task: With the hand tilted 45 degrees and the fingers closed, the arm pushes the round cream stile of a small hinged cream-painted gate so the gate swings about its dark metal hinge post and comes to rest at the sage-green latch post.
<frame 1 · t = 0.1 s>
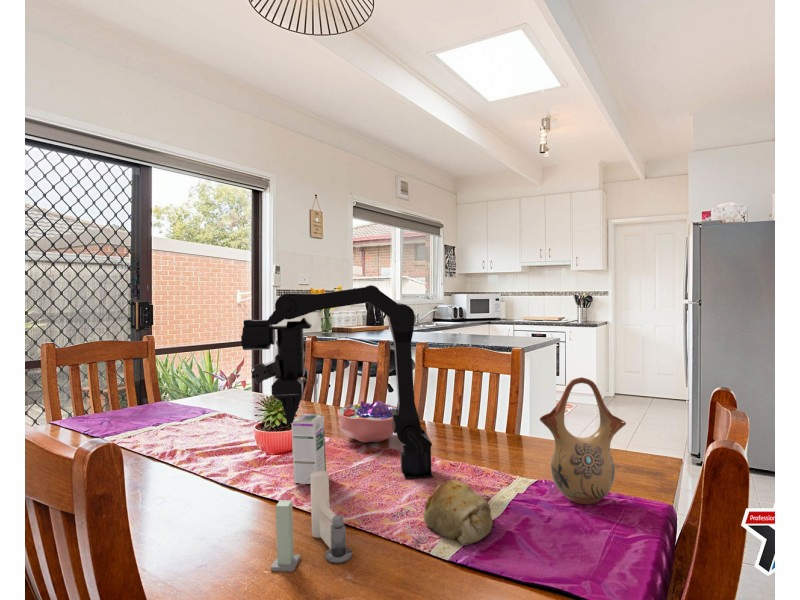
hand: (292, 417, 110), 15 cm above the table, tool pointing down, fingers open, 9 cm apart
cell model: (369, 440, 138), on the table
ceramic vessel: (582, 501, 98), on the table
gate: (327, 511, 83), point 6 cm above the table, hinge at -52.0°
syrup box: (310, 480, 111), on the table
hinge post: (338, 556, 80), on the table
latch post: (285, 564, 78), on the table
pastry: (458, 527, 89), on the table
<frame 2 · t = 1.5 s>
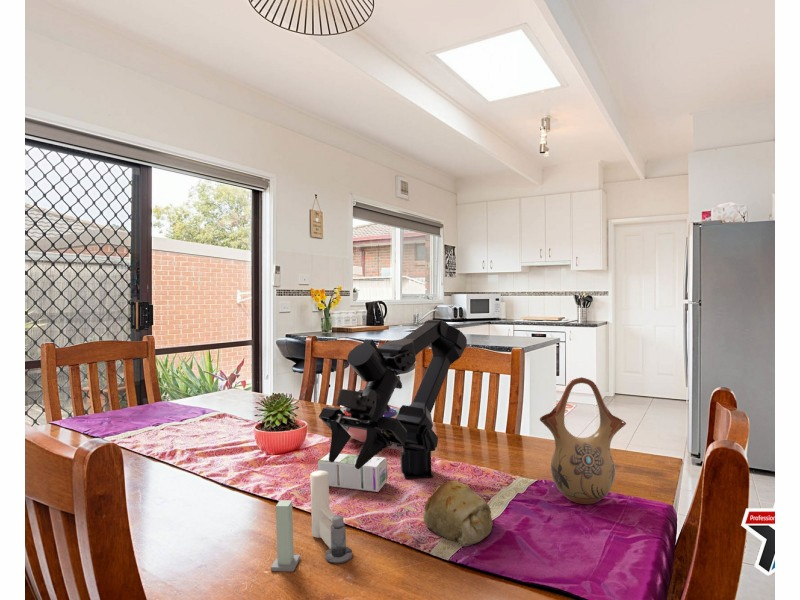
hand: (343, 464, 92), 11 cm above the table, tool tilted 45°, fingers open, 6 cm apart
syrup box: (322, 467, 110), point 3 cm above the table
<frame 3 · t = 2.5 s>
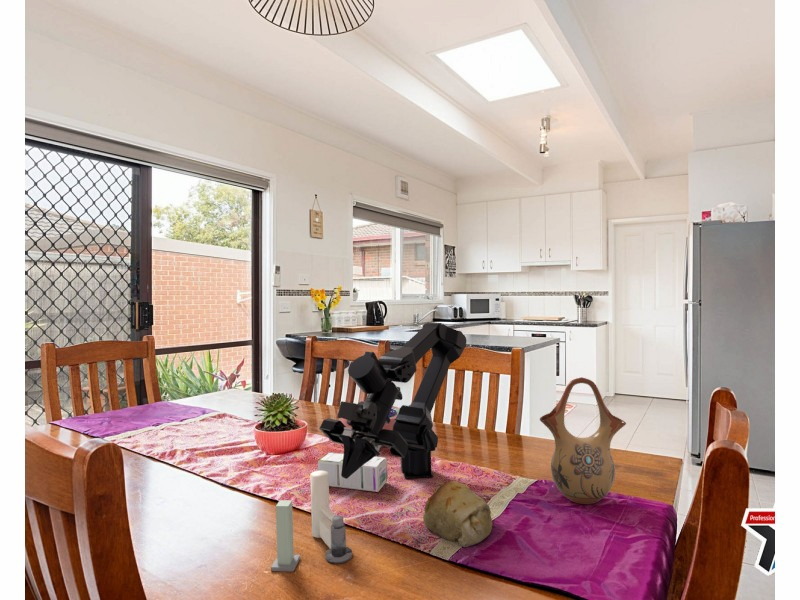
hand: (343, 477, 92), 8 cm above the table, tool tilted 45°, fingers closed
nothing on the table moved.
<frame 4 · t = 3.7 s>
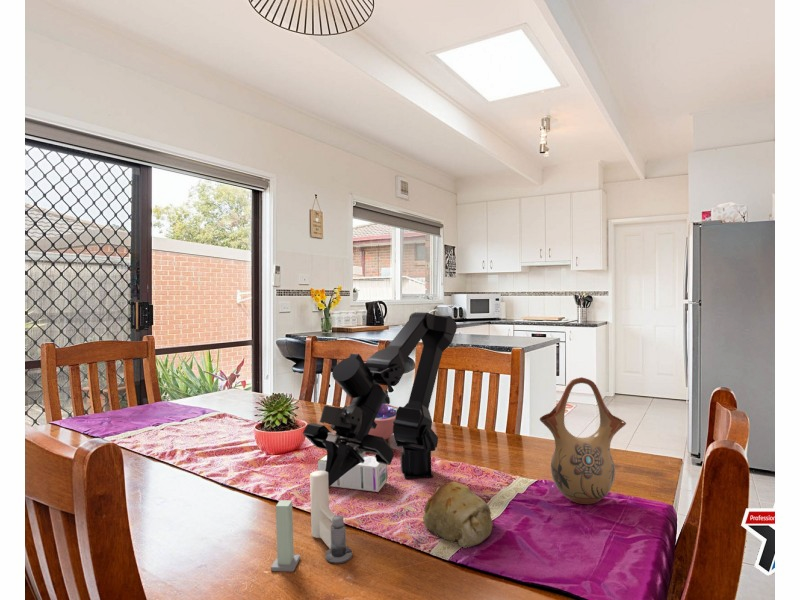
hand: (326, 485, 88), 8 cm above the table, tool tilted 45°, fingers closed, pressing on gate
gate: (327, 511, 83), point 6 cm above the table, hinge at -51.5°, touching gripper
everything else where it was.
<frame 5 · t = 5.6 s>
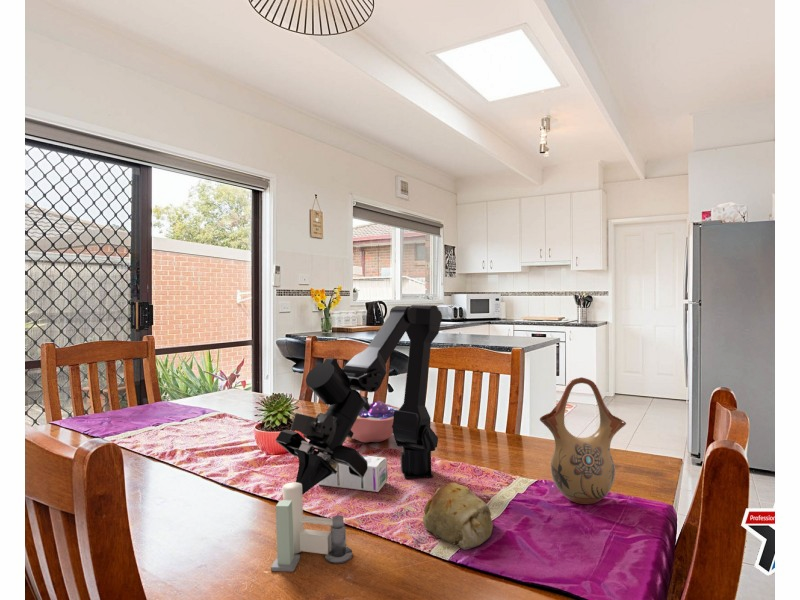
hand: (295, 497, 83), 8 cm above the table, tool tilted 45°, fingers closed, pressing on gate
gate: (313, 519, 81), point 6 cm above the table, hinge at -6.4°, touching gripper
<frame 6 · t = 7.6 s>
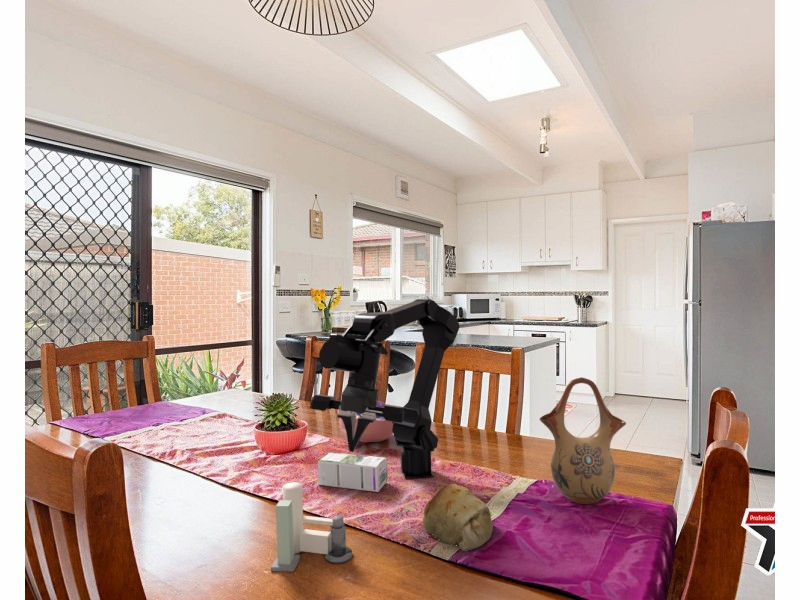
hand: (351, 451, 97), 11 cm above the table, tool pointing down, fingers closed
gate: (313, 519, 81), point 6 cm above the table, hinge at -6.4°
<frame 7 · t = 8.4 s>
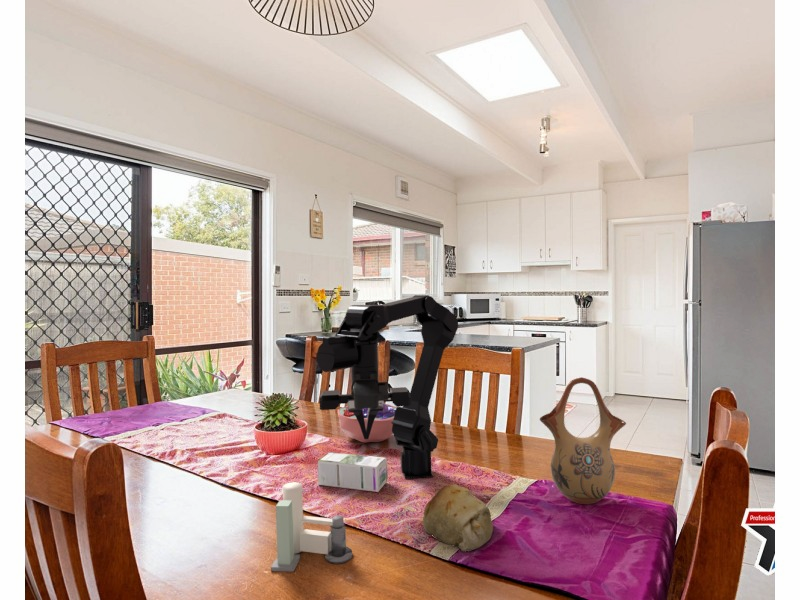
hand: (366, 438, 102), 12 cm above the table, tool pointing down, fingers closed
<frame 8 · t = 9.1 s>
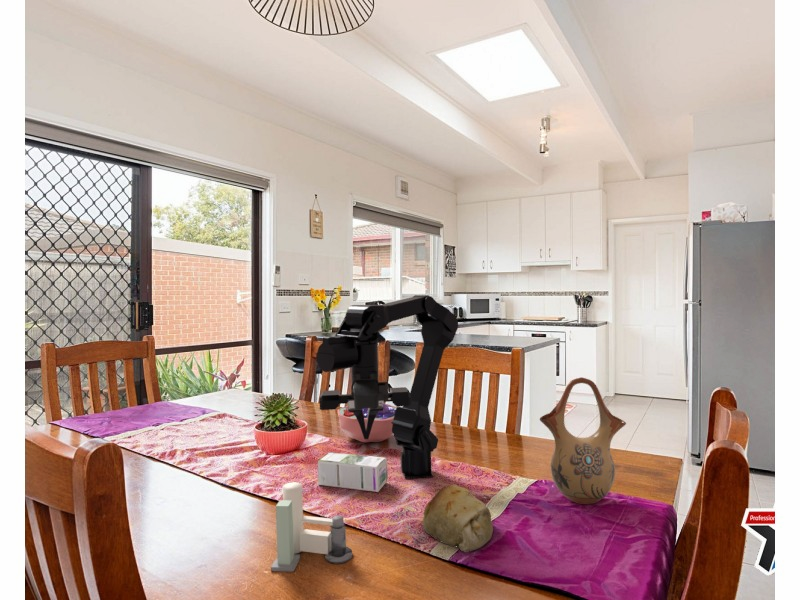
hand: (366, 438, 102), 12 cm above the table, tool pointing down, fingers closed
at the end: gate at -6° (first picture: -52°) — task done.
